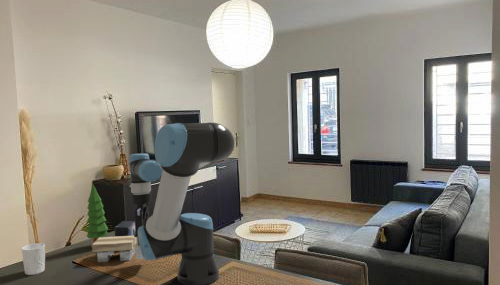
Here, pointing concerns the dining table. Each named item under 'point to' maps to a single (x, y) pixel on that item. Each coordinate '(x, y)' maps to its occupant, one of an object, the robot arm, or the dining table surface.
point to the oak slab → (114, 243)
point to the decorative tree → (96, 216)
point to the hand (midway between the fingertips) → (143, 248)
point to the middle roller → (104, 256)
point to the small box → (125, 228)
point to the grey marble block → (139, 255)
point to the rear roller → (127, 254)
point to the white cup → (34, 258)
